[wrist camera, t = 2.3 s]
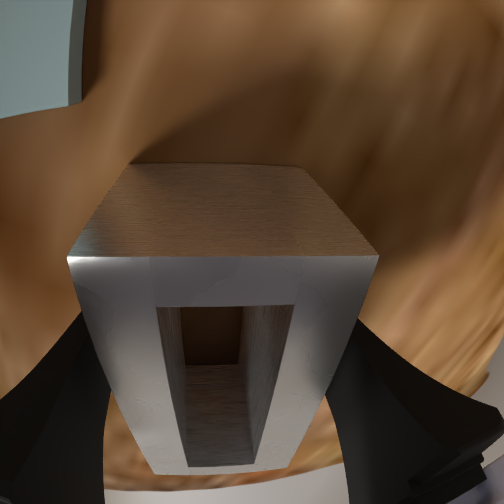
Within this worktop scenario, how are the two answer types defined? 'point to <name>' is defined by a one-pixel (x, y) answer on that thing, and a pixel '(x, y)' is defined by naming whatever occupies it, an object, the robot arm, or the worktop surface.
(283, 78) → the worktop surface
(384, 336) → the worktop surface
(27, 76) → the board
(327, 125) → the worktop surface
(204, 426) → the block
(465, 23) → the worktop surface
